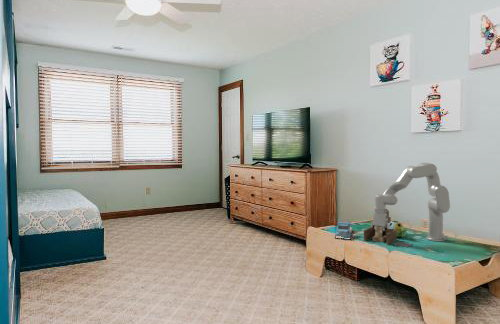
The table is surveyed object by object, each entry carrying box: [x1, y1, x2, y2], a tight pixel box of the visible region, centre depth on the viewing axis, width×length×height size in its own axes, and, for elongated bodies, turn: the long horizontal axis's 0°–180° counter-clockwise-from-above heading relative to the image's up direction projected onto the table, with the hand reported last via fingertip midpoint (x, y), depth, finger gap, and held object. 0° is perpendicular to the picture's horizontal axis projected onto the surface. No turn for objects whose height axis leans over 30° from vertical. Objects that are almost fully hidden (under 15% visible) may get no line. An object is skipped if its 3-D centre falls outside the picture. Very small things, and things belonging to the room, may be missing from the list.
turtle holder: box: [389, 220, 407, 238], centre depth 282 cm, size 12×18×12 cm
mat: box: [392, 241, 413, 248], centre depth 261 cm, size 10×10×1 cm
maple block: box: [375, 226, 384, 238], centre depth 272 cm, size 5×5×8 cm
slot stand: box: [363, 226, 398, 246], centre depth 273 cm, size 18×17×8 cm
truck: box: [334, 217, 353, 240], centre depth 290 cm, size 12×29×15 cm, turn 162°
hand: (379, 234), depth 273 cm, fingers closed on maple block, 5 cm apart
